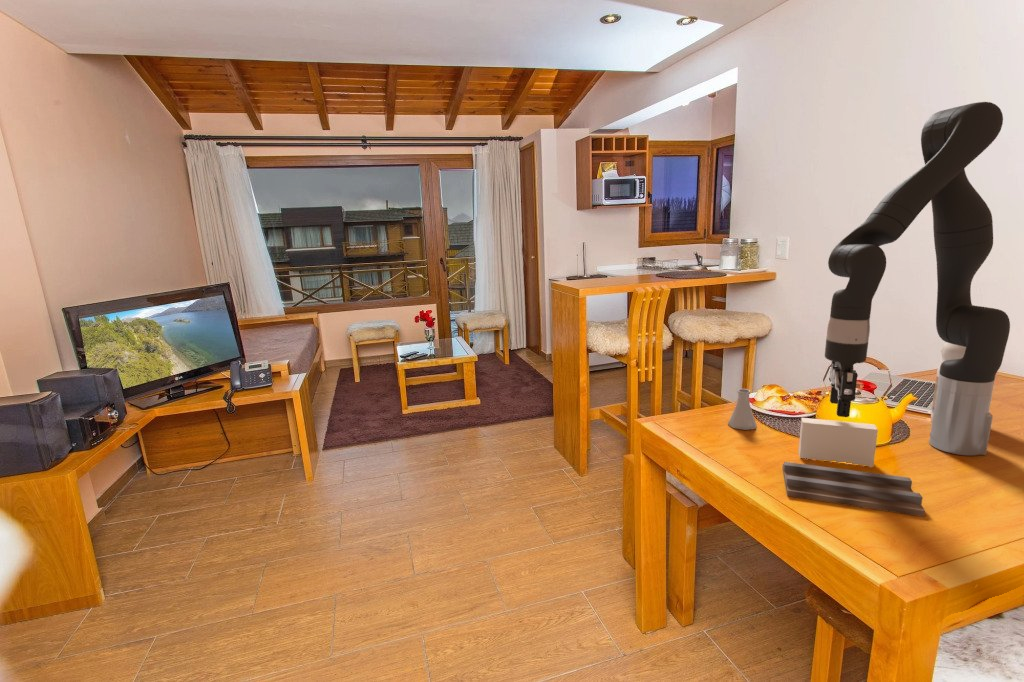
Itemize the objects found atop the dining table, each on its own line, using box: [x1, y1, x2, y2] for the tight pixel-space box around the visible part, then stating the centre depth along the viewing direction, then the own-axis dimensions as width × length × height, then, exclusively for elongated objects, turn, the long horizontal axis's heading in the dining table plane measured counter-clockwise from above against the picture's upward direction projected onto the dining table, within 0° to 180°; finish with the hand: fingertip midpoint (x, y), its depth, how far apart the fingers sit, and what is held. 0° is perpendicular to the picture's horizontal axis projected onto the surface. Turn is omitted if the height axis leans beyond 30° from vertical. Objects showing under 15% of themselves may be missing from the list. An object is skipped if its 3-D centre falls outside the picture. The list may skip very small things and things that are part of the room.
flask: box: [727, 388, 757, 431], centre depth 132 cm, size 7×7×10 cm
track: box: [782, 461, 926, 518], centre depth 99 cm, size 22×12×3 cm, turn 66°
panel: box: [798, 417, 879, 468], centre depth 111 cm, size 14×3×9 cm, turn 66°
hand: (838, 409), depth 109 cm, fingers open, 8 cm apart
